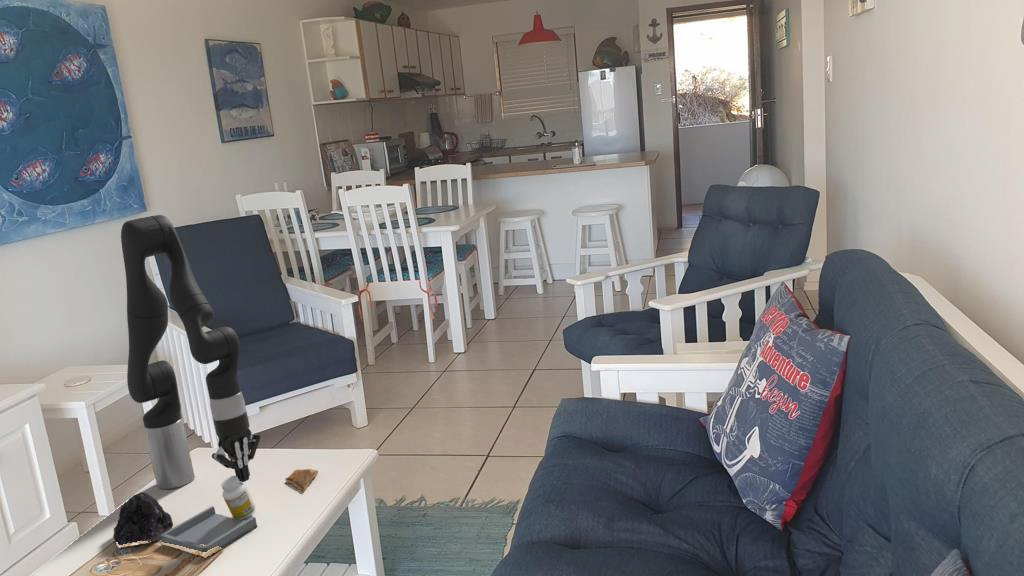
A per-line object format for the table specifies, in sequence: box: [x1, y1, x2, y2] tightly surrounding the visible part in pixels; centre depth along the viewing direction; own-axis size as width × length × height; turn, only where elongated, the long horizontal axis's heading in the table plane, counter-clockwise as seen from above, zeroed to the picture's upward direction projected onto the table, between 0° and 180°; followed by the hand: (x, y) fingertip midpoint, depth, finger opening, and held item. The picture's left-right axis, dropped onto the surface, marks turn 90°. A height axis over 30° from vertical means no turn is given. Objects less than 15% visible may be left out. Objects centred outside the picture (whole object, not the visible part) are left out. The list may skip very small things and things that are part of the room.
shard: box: [284, 468, 319, 492], centre depth 202 cm, size 11×8×2 cm
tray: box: [160, 505, 258, 552], centre depth 180 cm, size 16×14×2 cm
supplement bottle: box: [220, 475, 256, 521], centre depth 186 cm, size 5×5×10 cm
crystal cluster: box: [113, 491, 174, 545], centre depth 184 cm, size 13×14×10 cm
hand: (243, 480), depth 187 cm, fingers closed
